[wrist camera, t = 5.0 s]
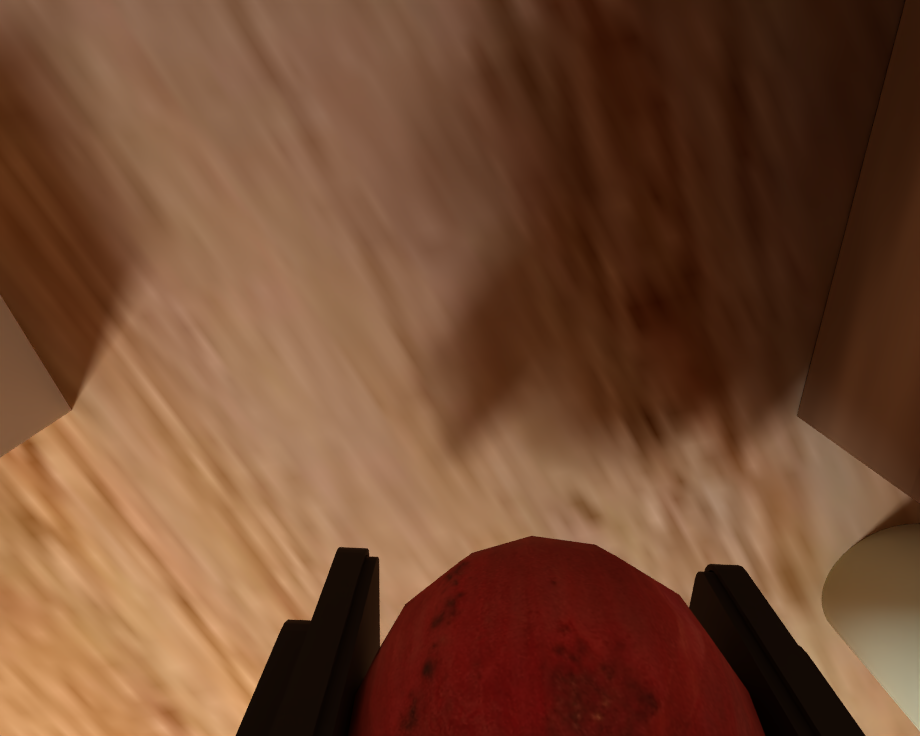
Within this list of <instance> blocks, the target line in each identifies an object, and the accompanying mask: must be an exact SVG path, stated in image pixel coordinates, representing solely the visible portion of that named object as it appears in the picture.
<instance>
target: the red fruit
mask: <svg viewBox="0 0 920 736" xmlns="http://www.w3.org/2000/svg"><path fill="white" fill-rule="evenodd" d="M348 736H765V733H764V731H763V728H762V725H761V723H760V720H759V718H758V715H757V712H756V710H755V707H754V705H753V702H752V699H751V697H750V694H749V692H748V690H747V689H746V687H745V686H744V685H743V683H742V682H741V680H740V679H739V677H738V676H737V675H736V673H735V672H734V670H733V669H732V667H731V666H730V665H729V663H728V662H727V660H726V659H725V657H724V656H723V655H722V653H721V652H720V650H719V649H718V647H717V646H716V645H715V643H714V642H713V640H712V639H711V638H710V636H709V635H708V633H707V632H706V631H705V629H704V628H703V627H702V625H701V624H700V622H699V621H698V620H697V618H696V617H695V616H694V614H693V613H692V611H691V610H690V609H689V607H688V606H687V605H686V603H685V602H684V601H683V599H682V598H681V596H680V595H679V594H677V593H675V592H674V591H672V590H670V589H669V588H667V587H666V586H664V585H662V584H661V583H659V582H657V581H656V580H654V579H652V578H651V577H649V576H648V575H646V574H644V573H643V572H641V571H639V570H638V569H636V568H635V567H633V566H631V565H630V564H628V563H626V562H625V561H623V560H622V559H620V558H618V557H617V556H615V555H613V554H611V553H609V552H607V551H606V550H604V549H602V548H600V547H598V546H596V545H594V544H586V543H579V542H572V541H565V540H557V539H550V538H543V537H536V536H530V537H526V538H523V539H519V540H516V541H512V542H509V543H505V544H502V545H498V546H495V547H491V548H488V549H484V550H481V551H477V552H474V553H471V554H470V555H469V556H467V557H466V558H464V559H463V560H462V561H460V562H459V563H457V564H456V565H455V566H454V567H452V568H451V569H450V570H449V571H447V572H446V573H445V574H443V575H442V576H441V577H440V578H438V579H437V580H436V581H434V582H433V583H432V584H431V585H429V586H428V587H427V588H426V589H424V590H423V591H422V592H420V593H419V594H418V595H417V596H415V597H414V598H413V599H412V600H410V601H409V602H408V603H406V604H405V606H404V608H403V609H402V611H401V613H400V615H399V616H398V618H397V620H396V621H395V623H394V625H393V626H392V628H391V630H390V631H389V633H388V635H387V636H386V638H385V640H384V642H383V643H382V645H381V647H380V648H379V650H378V652H377V653H376V655H375V657H374V659H373V661H372V663H371V665H370V667H369V669H368V671H367V673H366V675H365V677H364V679H363V681H362V683H361V685H360V687H359V689H358V691H357V693H356V695H355V700H354V705H353V711H352V716H351V721H350V727H349V732H348Z"/></svg>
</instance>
